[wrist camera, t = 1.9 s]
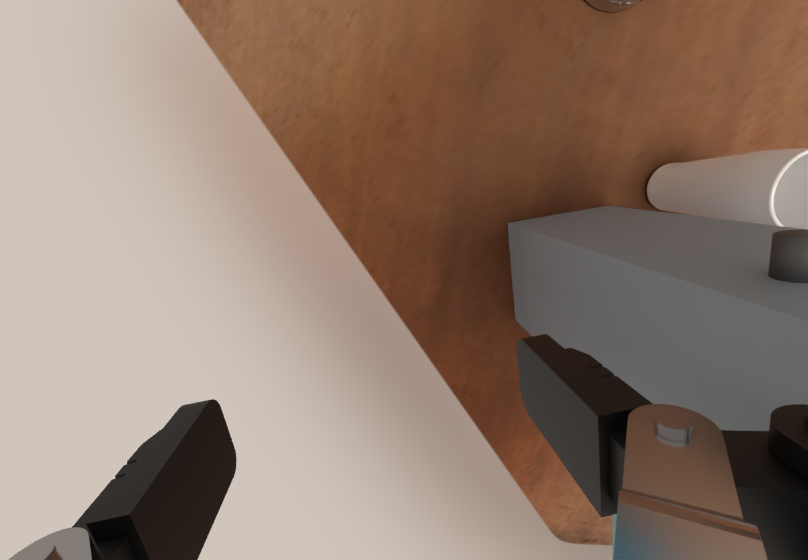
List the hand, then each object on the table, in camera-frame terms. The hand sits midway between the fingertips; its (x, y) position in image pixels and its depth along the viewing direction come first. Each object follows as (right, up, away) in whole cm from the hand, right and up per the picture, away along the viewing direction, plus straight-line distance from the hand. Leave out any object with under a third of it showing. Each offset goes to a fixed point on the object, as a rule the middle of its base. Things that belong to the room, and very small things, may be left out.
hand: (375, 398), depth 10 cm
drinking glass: (+31, +14, +34) cm, 48 cm away
